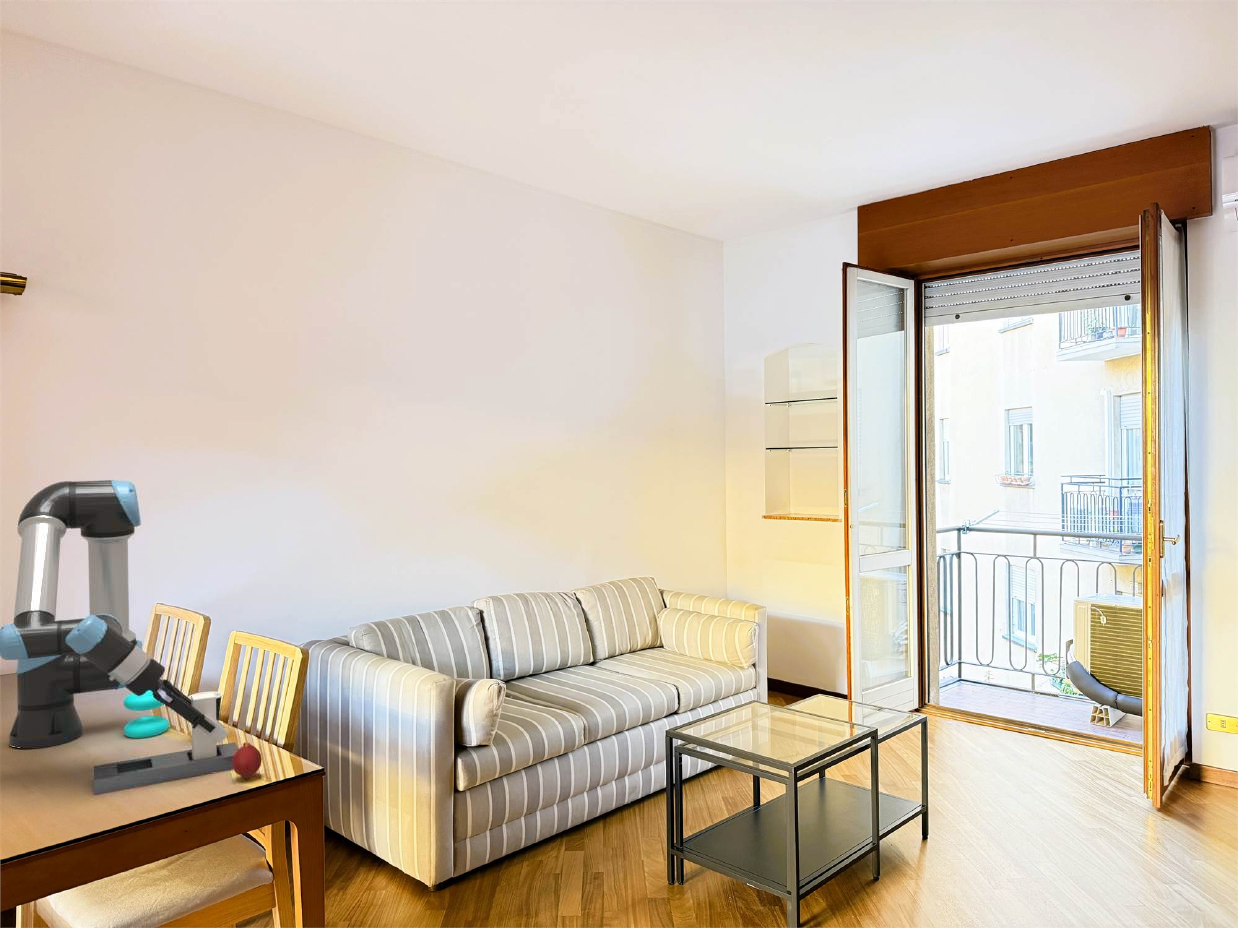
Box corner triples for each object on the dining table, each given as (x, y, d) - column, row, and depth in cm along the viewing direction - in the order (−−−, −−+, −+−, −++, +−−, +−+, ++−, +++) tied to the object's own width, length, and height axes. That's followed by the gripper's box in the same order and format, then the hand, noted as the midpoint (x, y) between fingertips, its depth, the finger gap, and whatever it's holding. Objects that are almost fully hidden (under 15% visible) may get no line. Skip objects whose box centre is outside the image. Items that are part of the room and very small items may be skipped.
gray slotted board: (93, 794, 173) (93, 780, 173) (93, 779, 182) (93, 765, 182) (241, 767, 188) (241, 754, 188) (235, 754, 196) (235, 741, 196)
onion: (238, 773, 184) (237, 737, 184) (265, 772, 185) (265, 736, 185) (228, 783, 178) (227, 746, 178) (256, 782, 179) (255, 744, 179)
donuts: (173, 687, 220) (161, 697, 210) (174, 725, 220) (161, 737, 210) (131, 689, 218) (117, 700, 208) (132, 728, 218) (117, 740, 208)
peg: (194, 763, 185) (193, 699, 185) (192, 757, 189) (191, 695, 189) (216, 759, 188) (215, 696, 188) (214, 753, 192) (213, 692, 192)
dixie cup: (179, 743, 206) (179, 698, 206) (207, 733, 213) (206, 690, 213) (203, 747, 202) (202, 701, 202) (230, 737, 210) (229, 692, 210)
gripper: (122, 677, 188) (205, 738, 196) (124, 694, 173) (214, 759, 182) (149, 650, 191) (229, 711, 199) (154, 665, 176) (241, 730, 184)
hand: (222, 734), depth 190 cm, fingers closed on peg, 4 cm apart
